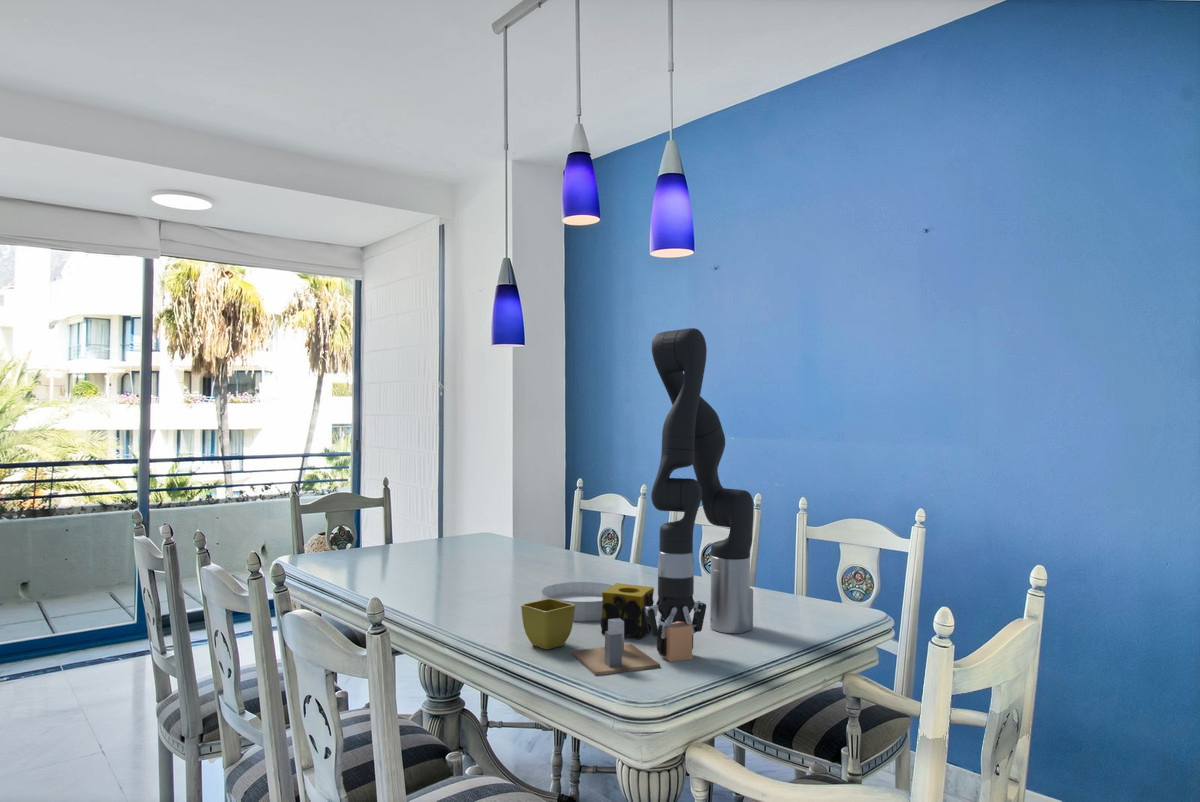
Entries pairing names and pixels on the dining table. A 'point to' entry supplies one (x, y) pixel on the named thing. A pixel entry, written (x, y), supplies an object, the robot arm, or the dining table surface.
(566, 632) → the flower pot
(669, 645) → the salmon pink brick
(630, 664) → the board
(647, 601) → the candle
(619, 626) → the metal post
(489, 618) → the dining table surface
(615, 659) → the graphite post
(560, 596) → the dish
